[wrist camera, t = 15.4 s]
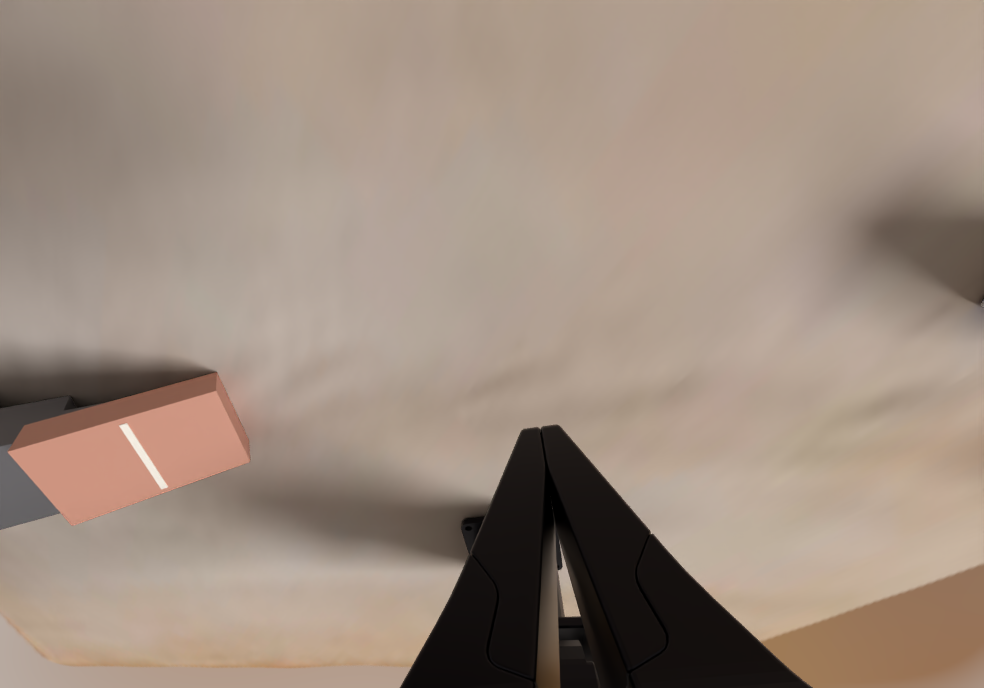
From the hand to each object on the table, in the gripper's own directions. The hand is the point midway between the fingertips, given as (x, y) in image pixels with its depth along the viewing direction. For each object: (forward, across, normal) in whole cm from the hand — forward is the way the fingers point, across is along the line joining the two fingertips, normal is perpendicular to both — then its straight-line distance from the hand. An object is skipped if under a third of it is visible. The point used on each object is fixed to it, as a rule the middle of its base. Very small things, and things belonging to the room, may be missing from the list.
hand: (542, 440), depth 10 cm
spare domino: (+11, +16, +6) cm, 21 cm away
